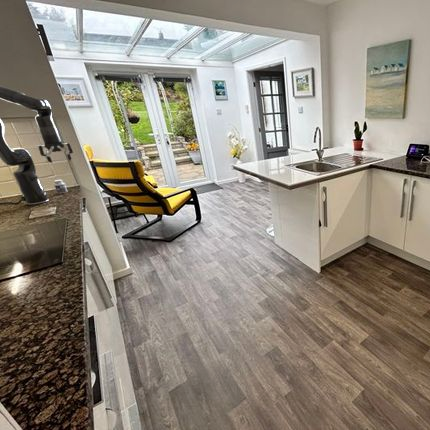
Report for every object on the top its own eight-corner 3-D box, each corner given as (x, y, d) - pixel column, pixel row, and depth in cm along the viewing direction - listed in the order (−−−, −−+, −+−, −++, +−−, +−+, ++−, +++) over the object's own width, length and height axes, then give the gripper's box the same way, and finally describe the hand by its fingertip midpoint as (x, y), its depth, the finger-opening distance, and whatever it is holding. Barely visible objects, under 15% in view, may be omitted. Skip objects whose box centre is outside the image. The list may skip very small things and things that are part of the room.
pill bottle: (56, 193, 182) (50, 181, 179) (65, 191, 187) (59, 179, 183) (60, 194, 181) (55, 181, 177) (69, 191, 185) (64, 179, 182)
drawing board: (32, 211, 148) (31, 210, 148) (56, 207, 154) (55, 206, 154) (29, 219, 137) (28, 218, 137) (55, 214, 143) (54, 213, 143)
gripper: (64, 133, 163) (73, 159, 169) (31, 135, 153) (43, 162, 159) (67, 133, 159) (77, 160, 165) (34, 135, 148) (46, 164, 155)
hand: (60, 161), depth 162 cm, fingers open, 8 cm apart
